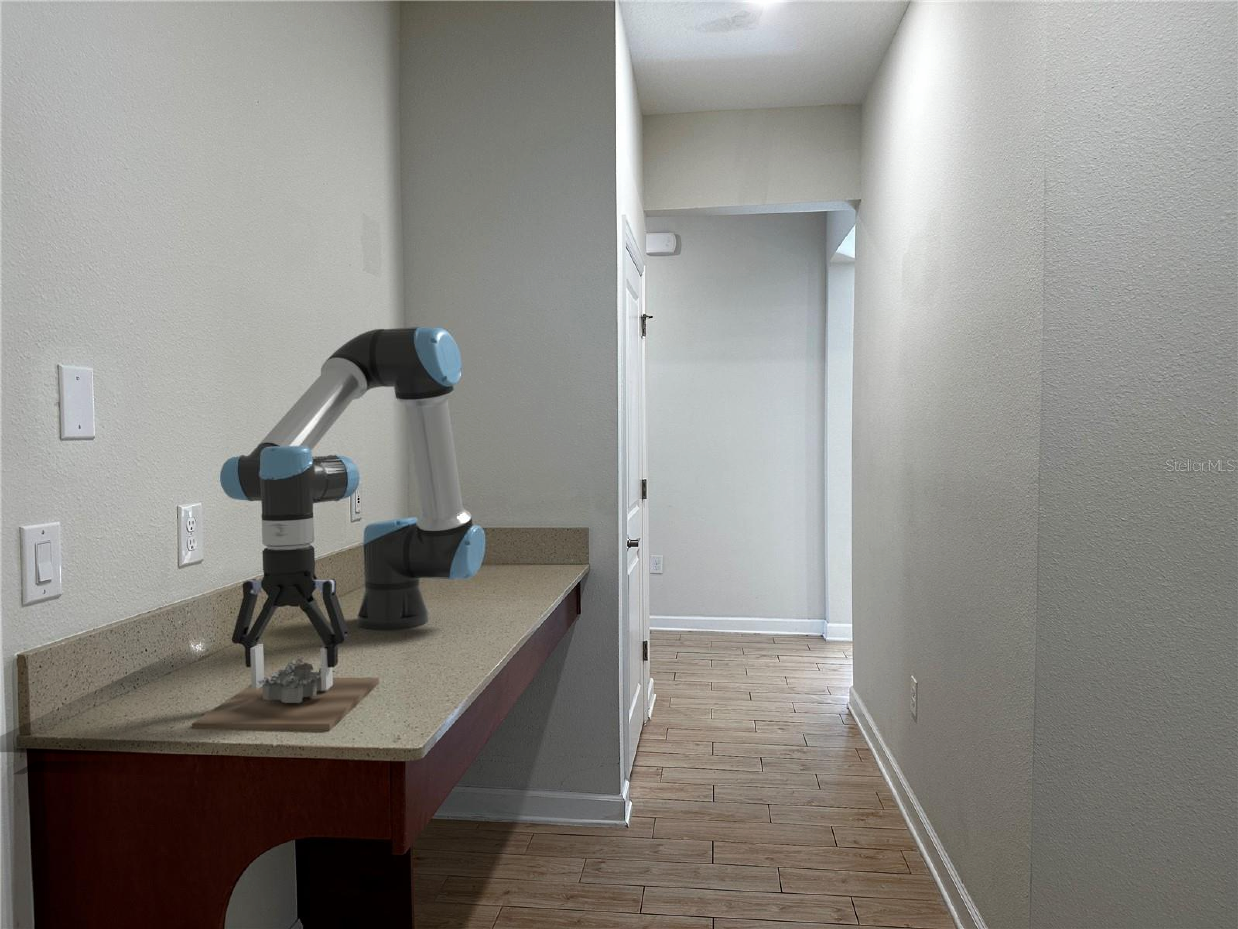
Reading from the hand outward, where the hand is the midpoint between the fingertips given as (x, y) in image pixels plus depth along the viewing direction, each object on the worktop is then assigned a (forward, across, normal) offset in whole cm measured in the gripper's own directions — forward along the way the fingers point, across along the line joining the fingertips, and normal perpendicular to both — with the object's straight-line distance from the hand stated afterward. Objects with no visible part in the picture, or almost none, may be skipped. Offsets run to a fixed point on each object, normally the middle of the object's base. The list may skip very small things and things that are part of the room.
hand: (292, 687), depth 133 cm
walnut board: (+3, 0, 0) cm, 3 cm away
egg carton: (+3, -2, 0) cm, 3 cm away
